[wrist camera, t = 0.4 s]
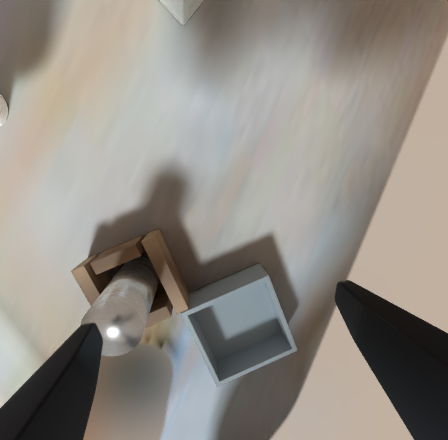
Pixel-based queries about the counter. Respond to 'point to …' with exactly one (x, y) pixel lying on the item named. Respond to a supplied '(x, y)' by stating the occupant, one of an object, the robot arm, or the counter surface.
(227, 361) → the tray
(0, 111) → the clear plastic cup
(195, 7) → the skincare box
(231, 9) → the counter surface
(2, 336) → the counter surface
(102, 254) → the socket block
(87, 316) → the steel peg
